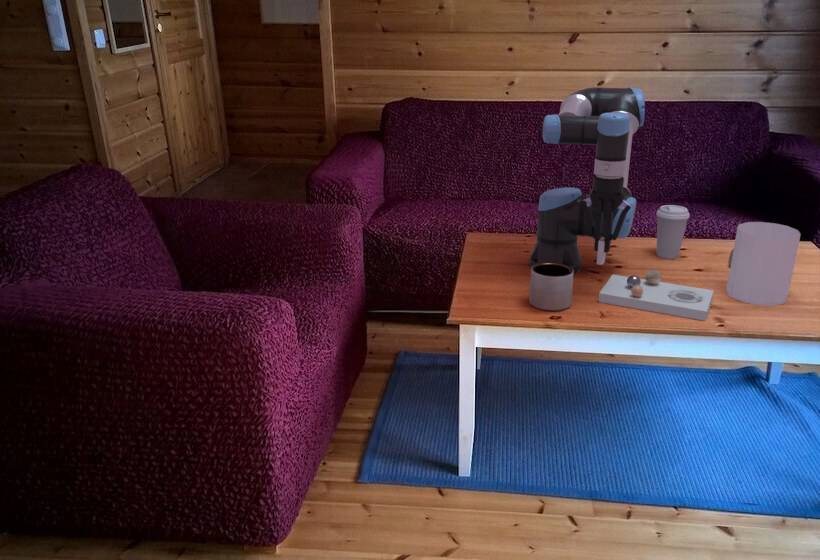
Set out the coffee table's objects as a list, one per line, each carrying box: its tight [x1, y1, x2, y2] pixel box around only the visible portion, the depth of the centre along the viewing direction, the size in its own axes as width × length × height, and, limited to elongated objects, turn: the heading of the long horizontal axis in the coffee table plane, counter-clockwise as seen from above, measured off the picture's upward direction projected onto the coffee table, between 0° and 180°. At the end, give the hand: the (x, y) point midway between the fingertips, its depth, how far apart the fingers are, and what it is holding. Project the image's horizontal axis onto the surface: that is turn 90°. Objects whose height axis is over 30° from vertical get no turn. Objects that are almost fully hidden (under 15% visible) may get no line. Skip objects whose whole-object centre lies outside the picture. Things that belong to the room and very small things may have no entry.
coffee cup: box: [655, 204, 691, 260], centre depth 205 cm, size 10×10×15 cm
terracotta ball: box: [631, 285, 643, 297], centre depth 171 cm, size 3×3×3 cm
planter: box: [528, 262, 575, 312], centre depth 173 cm, size 11×11×10 cm
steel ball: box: [627, 274, 641, 288], centre depth 177 cm, size 4×4×4 cm
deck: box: [598, 274, 715, 322], centre depth 175 cm, size 26×15×2 cm, turn 61°
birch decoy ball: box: [644, 268, 662, 284], centre depth 179 cm, size 4×4×4 cm
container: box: [725, 221, 801, 307], centre depth 175 cm, size 14×14×18 cm
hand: (600, 262), depth 179 cm, fingers closed
